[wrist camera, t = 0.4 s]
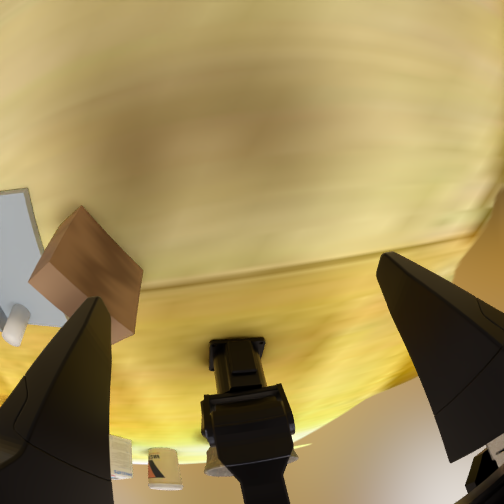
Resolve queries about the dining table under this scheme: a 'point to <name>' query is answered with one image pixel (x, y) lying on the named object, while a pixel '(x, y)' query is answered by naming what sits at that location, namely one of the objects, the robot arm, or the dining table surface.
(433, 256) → the dining table surface
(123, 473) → the light bulb box
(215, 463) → the bowl
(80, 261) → the brown box shape
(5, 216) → the wall panel
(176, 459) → the coffee cup
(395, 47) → the dining table surface
